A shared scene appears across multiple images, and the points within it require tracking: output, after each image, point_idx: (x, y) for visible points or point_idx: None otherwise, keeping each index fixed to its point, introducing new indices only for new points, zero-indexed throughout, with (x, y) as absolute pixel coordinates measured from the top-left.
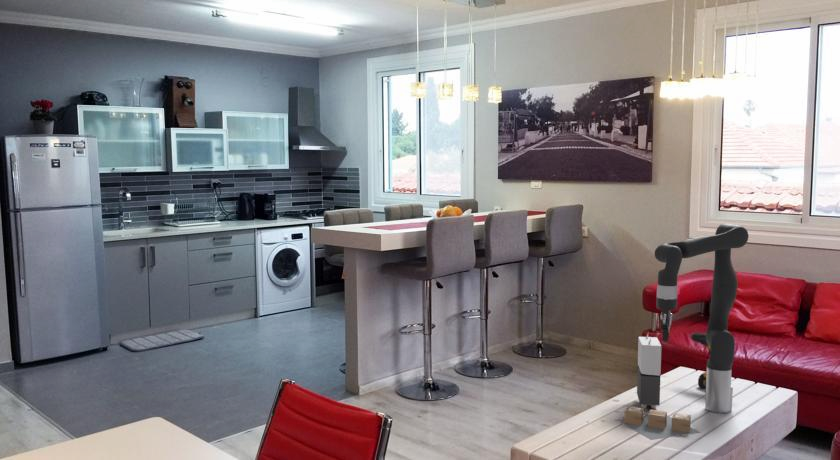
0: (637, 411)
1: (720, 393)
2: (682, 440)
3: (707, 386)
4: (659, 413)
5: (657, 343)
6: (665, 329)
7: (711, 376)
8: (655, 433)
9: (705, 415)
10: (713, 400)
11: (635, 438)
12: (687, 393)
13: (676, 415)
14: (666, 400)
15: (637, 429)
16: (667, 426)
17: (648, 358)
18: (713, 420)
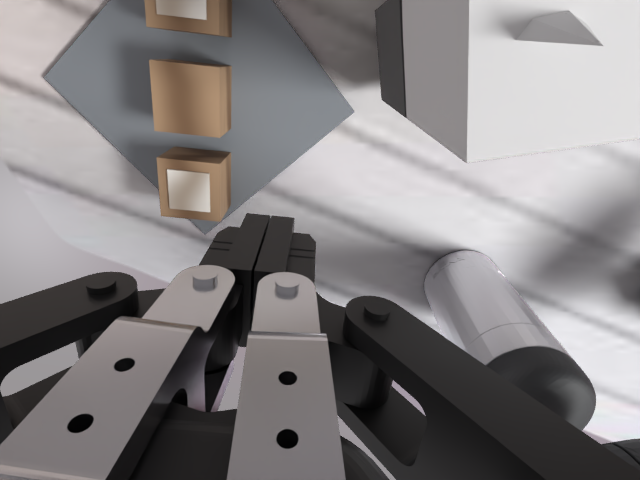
0: (156, 6)
1: (441, 326)
2: (119, 179)
3: (478, 297)
4: (182, 108)
5: (575, 121)
6: (79, 349)
7: (476, 339)
8: (116, 91)
9: (391, 248)
10: (439, 290)
11: (41, 15)
12: (635, 196)
13: (183, 174)
14: None
15: (121, 17)
16: None
17: (429, 34)
18: (349, 267)
